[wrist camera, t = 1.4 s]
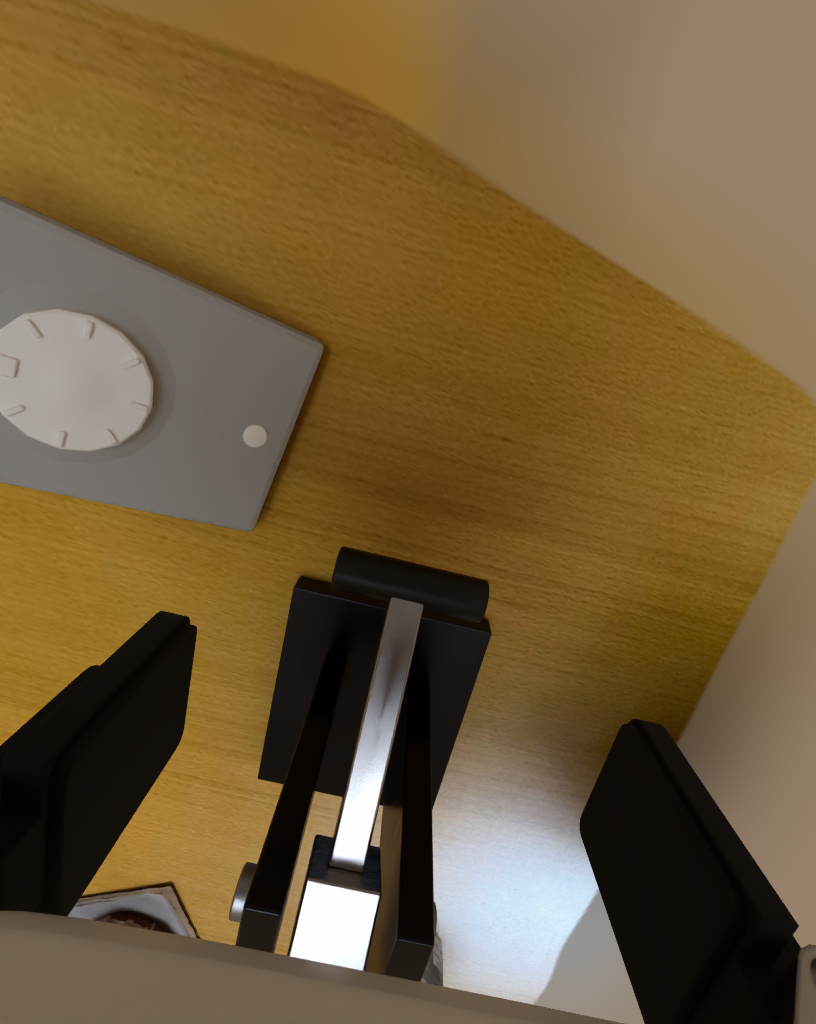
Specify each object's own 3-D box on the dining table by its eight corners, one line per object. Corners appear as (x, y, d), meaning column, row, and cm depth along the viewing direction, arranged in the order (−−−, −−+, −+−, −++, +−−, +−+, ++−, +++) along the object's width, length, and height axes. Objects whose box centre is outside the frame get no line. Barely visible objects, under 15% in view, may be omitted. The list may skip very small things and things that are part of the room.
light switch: (256, 545, 20) (-304, 441, 12) (238, 486, 25) (-178, 383, 17) (334, 349, 18) (-299, 65, 10) (298, 324, 23) (-153, 118, 15)
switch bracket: (300, 575, 22) (176, 791, 11) (488, 619, 23) (551, 871, 12) (264, 760, 26) (140, 1072, 14) (430, 796, 26) (434, 1127, 15)
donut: (51, 899, 29) (25, 937, 27) (172, 883, 29) (154, 922, 27) (105, 990, 32) (84, 1031, 30) (218, 977, 31) (204, 1019, 29)
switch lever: (343, 547, 17) (339, 543, 15) (479, 580, 17) (496, 581, 15) (251, 915, 16) (229, 976, 13) (402, 946, 16) (407, 1012, 13)
